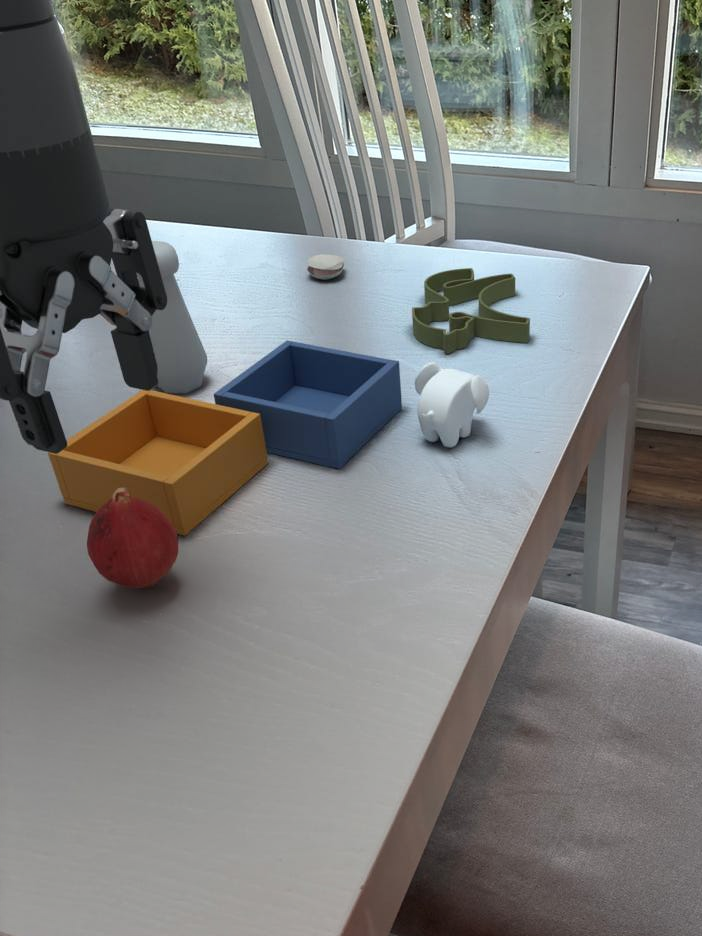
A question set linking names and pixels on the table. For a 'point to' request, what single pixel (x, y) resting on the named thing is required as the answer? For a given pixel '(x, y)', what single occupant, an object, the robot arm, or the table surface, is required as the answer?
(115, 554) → the red pomegranate
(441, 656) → the table surface
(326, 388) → the blue bin
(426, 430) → the elephant figurine
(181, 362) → the salt shaker
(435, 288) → the cookie cutter
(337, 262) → the macaroon
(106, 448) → the ochre bin
